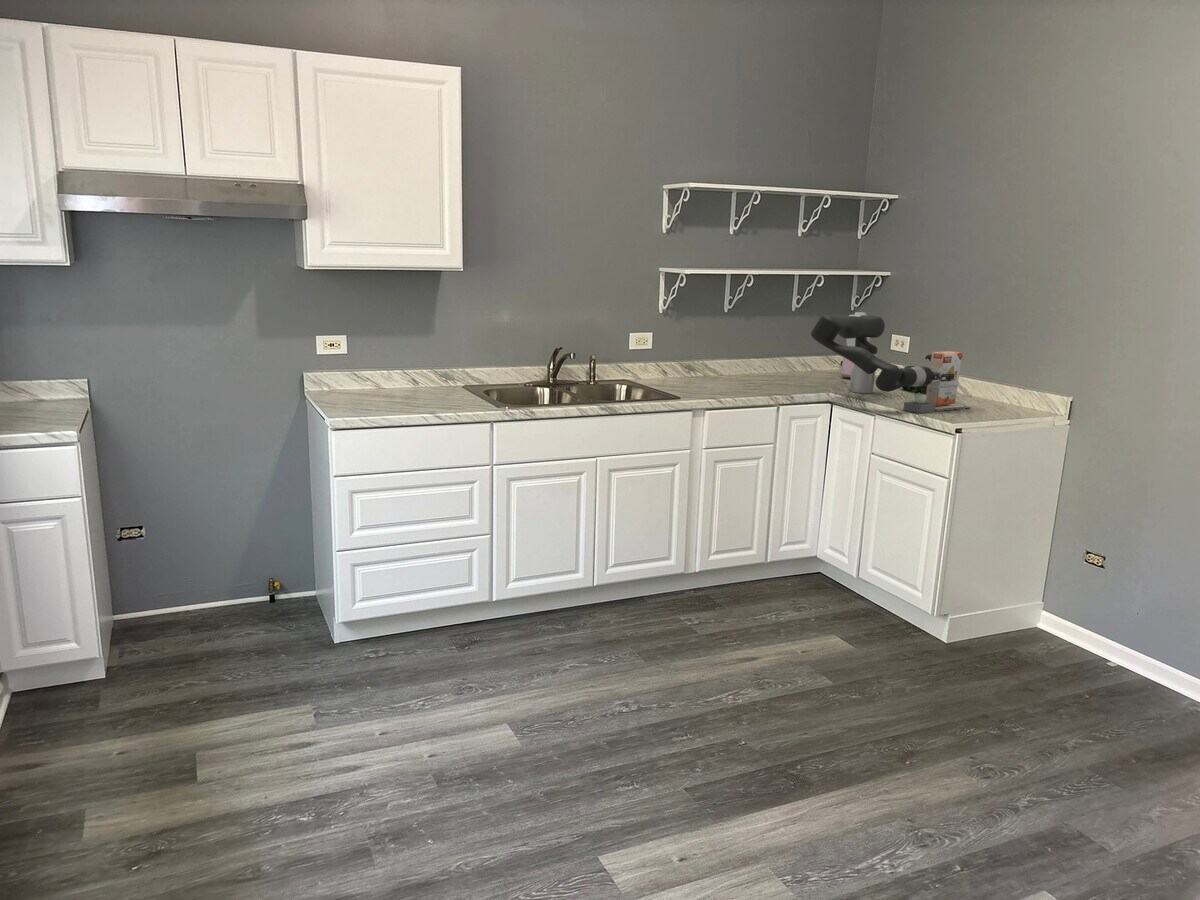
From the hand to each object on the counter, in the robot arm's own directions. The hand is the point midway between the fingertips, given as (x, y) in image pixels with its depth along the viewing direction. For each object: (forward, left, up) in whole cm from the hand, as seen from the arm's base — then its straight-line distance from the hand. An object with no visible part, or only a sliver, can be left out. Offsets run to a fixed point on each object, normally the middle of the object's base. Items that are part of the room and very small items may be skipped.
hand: (945, 375), depth 345 cm
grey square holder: (+3, -17, -13) cm, 22 cm away
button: (+3, -17, -10) cm, 20 cm away
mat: (0, -1, -13) cm, 13 cm away
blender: (-75, +28, -13) cm, 81 cm away
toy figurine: (-32, +23, -13) cm, 41 cm away
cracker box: (0, -1, -12) cm, 12 cm away
